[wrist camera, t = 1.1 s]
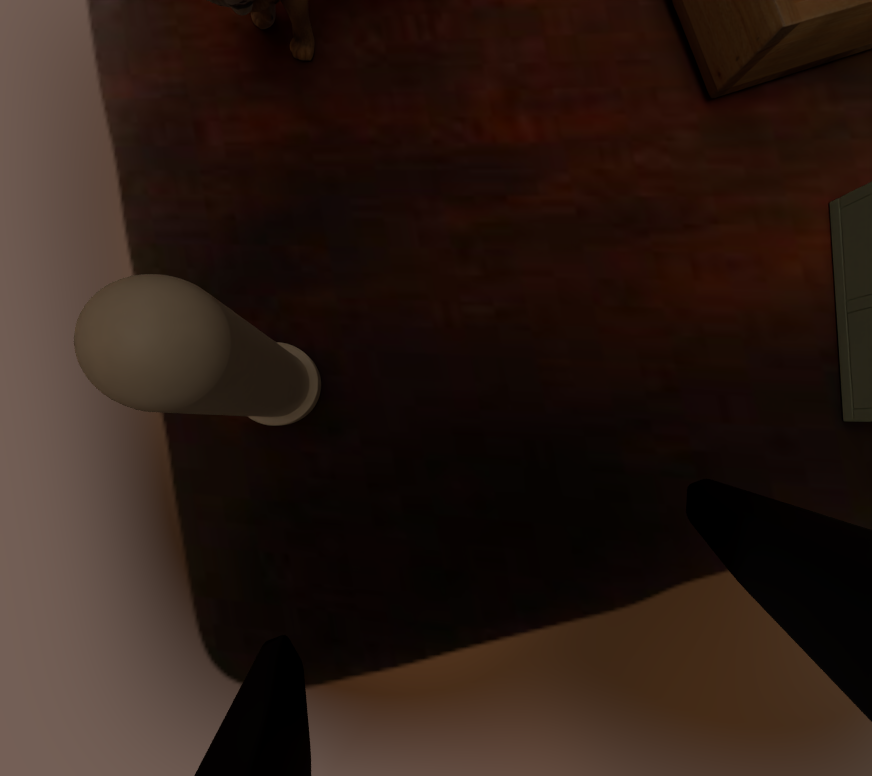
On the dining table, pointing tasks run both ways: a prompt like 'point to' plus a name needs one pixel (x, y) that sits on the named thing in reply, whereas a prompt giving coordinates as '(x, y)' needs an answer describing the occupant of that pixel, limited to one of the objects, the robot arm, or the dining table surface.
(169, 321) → the beige rounded cylinder
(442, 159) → the dining table surface
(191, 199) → the dining table surface
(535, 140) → the dining table surface
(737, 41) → the tray
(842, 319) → the grid
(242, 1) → the lion figurine
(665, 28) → the dining table surface
